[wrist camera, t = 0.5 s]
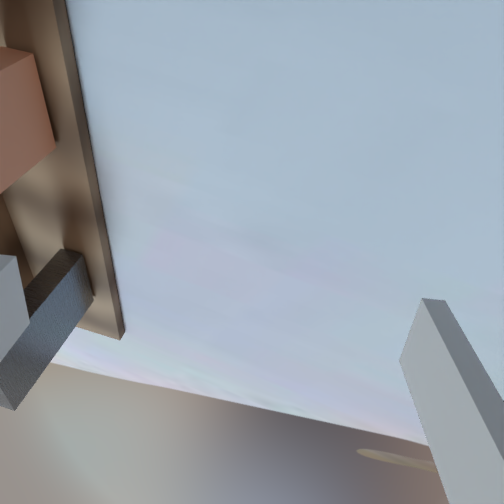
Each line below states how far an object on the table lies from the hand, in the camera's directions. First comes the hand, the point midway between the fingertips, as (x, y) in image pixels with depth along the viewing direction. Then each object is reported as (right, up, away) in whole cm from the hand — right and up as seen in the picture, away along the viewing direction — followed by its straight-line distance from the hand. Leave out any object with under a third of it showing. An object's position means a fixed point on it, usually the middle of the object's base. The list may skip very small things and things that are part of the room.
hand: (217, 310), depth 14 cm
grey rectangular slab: (-14, 0, +23) cm, 27 cm away
